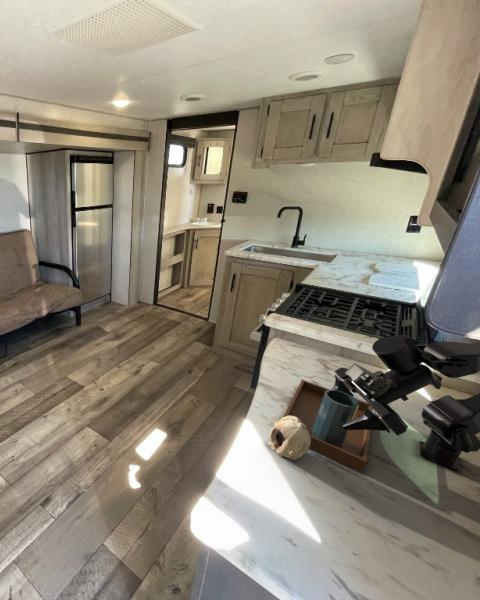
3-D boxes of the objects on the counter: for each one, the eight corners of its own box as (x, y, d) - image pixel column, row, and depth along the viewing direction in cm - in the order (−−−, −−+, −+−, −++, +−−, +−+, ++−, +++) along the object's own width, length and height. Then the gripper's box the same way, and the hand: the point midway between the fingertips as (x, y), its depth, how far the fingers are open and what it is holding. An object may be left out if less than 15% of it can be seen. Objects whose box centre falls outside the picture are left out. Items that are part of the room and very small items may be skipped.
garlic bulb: (273, 444, 85) (279, 407, 84) (312, 459, 78) (318, 419, 78) (261, 453, 78) (267, 413, 78) (302, 470, 72) (309, 427, 72)
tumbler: (326, 429, 86) (341, 388, 81) (348, 448, 80) (366, 405, 75) (304, 431, 85) (318, 390, 80) (325, 451, 79) (341, 408, 74)
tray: (299, 388, 104) (301, 379, 103) (369, 414, 93) (373, 404, 92) (277, 433, 85) (280, 423, 84) (362, 472, 74) (367, 462, 73)
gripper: (354, 339, 82) (295, 372, 87) (412, 382, 64) (335, 419, 70) (377, 369, 83) (319, 399, 89) (441, 418, 66) (363, 452, 72)
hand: (332, 414), depth 80 cm, fingers open, 9 cm apart
